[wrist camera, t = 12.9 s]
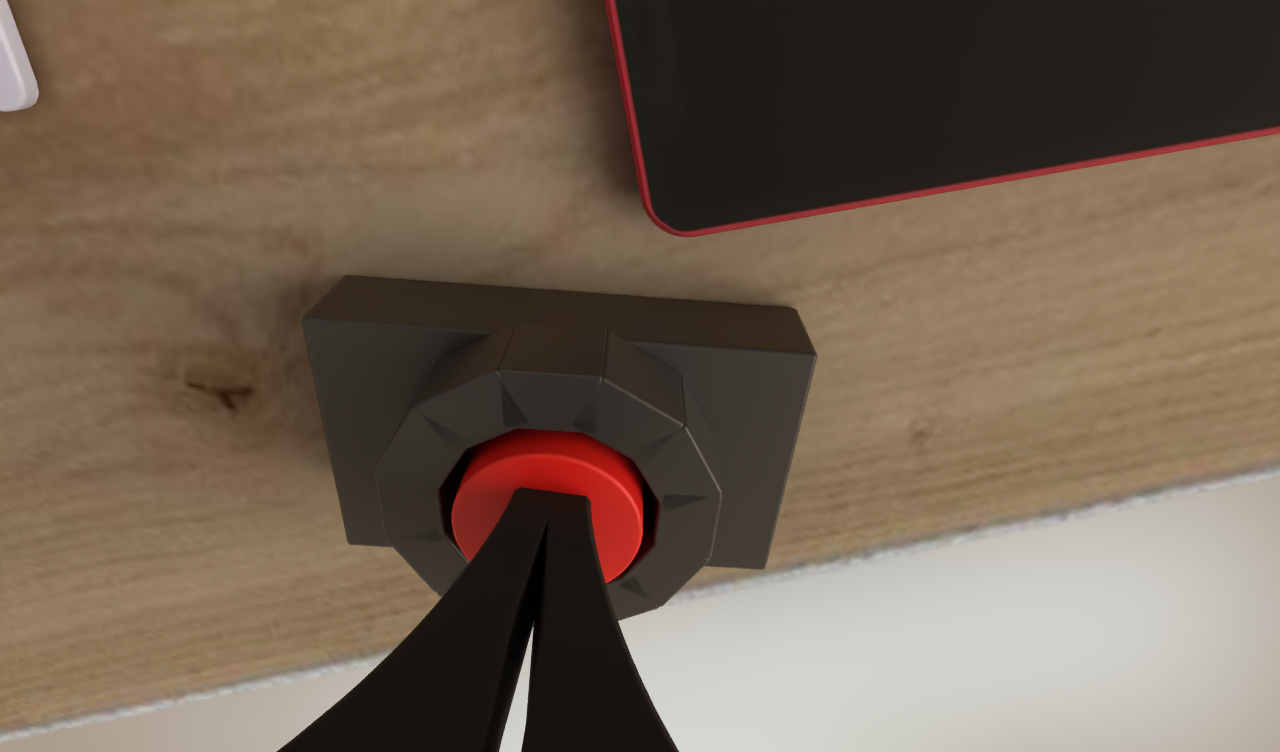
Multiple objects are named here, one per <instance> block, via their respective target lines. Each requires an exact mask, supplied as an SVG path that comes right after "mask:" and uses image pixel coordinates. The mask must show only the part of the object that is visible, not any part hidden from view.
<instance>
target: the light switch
mask: <svg viewBox="0 0 1280 752" xmlns="http://www.w3.org/2000/svg"><path fill="white" fill-rule="evenodd" d="M302 327H303V331H304V336H305V341H306V346H307V350H308V355H309V360H310V365H311V369H312V374H313V379H314V384H315V388H316V393H317V398H318V403H319V407H320V412H321V417H322V422H323V426H324V431H325V436H326V441H327V445H328V450H329V455H330V460H331V464H332V469H333V474H334V479H335V483H336V488H337V493H338V498H339V502H340V507H341V512H342V517H343V521H344V526H345V531H346V536H347V541H348V543H349V544H351V545H364V546H380V547H393V548H394V549H395V550H396V551H397V552H398V553H399V554H400V555H401V556H402V557H403V558H404V560H405V561H406V562H407V563H408V564H409V565H410V566H411V567H412V568H413V569H414V570H415V571H416V573H417V574H418V575H419V576H420V577H421V578H422V579H423V580H424V581H425V582H426V583H427V584H428V585H429V587H430V588H431V589H432V590H433V591H434V592H438V595H439V596H441V597H443V596H444V595H445V593H446V592H447V591H448V590H449V588H450V587H451V586H452V585H453V584H454V582H455V581H456V580H457V579H458V577H459V576H460V575H461V574H462V572H463V571H464V570H465V569H466V567H467V566H468V564H469V563H470V561H469V560H468V559H467V558H466V556H465V555H464V554H463V552H462V551H461V549H460V547H459V545H458V544H457V541H456V539H455V536H454V533H453V527H452V515H451V513H452V507H453V503H454V500H455V497H456V495H457V492H458V489H459V486H460V484H461V481H462V478H463V476H464V473H465V470H466V468H467V465H468V462H469V460H470V457H471V454H472V451H473V449H474V446H475V445H478V444H480V443H483V442H485V441H488V440H490V439H493V438H495V437H497V436H500V435H502V434H505V433H507V432H510V431H512V430H515V429H517V428H520V429H535V430H550V431H565V432H580V433H584V434H586V435H588V436H590V437H592V438H594V439H595V440H597V441H599V442H601V443H603V444H605V445H606V446H608V447H610V448H612V449H614V450H616V451H617V452H619V453H621V454H623V455H625V456H627V457H628V458H630V459H632V460H633V461H634V462H635V464H636V466H637V467H638V469H639V471H640V472H641V474H642V476H643V536H642V541H641V544H640V547H639V550H638V552H637V554H636V555H635V557H634V559H633V560H632V562H631V563H630V564H629V566H628V567H627V568H626V569H625V570H624V571H623V572H622V573H621V574H620V575H618V576H617V577H616V578H614V579H613V580H611V581H610V582H608V583H606V586H607V589H608V593H609V596H610V599H611V602H612V605H613V609H614V612H615V614H616V617H617V620H618V621H619V620H622V619H626V618H629V617H632V616H635V615H638V614H642V613H645V612H648V611H651V610H654V609H657V608H659V606H663V605H664V604H665V603H666V602H667V601H668V600H669V599H670V598H671V597H672V596H673V595H674V594H675V593H677V592H678V591H679V590H680V589H681V588H682V587H683V586H684V585H685V584H686V583H687V582H688V581H689V580H690V579H691V578H692V577H693V576H694V575H695V574H696V573H697V572H698V571H699V570H700V569H702V568H703V567H704V566H709V567H725V568H742V569H758V570H763V569H765V567H766V564H767V560H768V556H769V552H770V547H771V543H772V539H773V535H774V531H775V527H776V523H777V519H778V515H779V511H780V507H781V503H782V499H783V494H784V490H785V486H786V482H787V478H788V474H789V470H790V466H791V462H792V458H793V454H794V450H795V446H796V442H797V437H798V433H799V429H800V425H801V421H802V417H803V413H804V409H805V405H806V401H807V397H808V393H809V389H810V384H811V380H812V376H813V372H814V368H815V364H816V360H817V353H816V351H815V349H814V347H813V345H812V342H811V340H810V338H809V336H808V334H807V332H806V329H805V327H804V325H803V323H802V321H801V318H800V316H799V314H798V312H797V310H796V309H794V308H782V307H768V306H755V305H741V304H727V303H714V302H700V301H686V300H673V299H659V298H645V297H632V296H618V295H604V294H591V293H577V292H563V291H550V290H536V289H522V288H509V287H495V286H481V285H468V284H454V283H440V282H427V281H413V280H399V279H386V278H372V277H358V276H345V277H343V278H342V279H341V280H340V281H339V282H338V283H337V284H336V285H335V286H334V287H333V288H332V289H331V290H330V291H329V292H328V293H327V294H326V295H325V296H324V297H323V298H322V299H321V300H319V301H318V302H317V303H316V304H315V305H314V306H313V307H312V308H311V309H310V310H309V311H308V312H307V313H306V314H305V315H304V316H303V317H302ZM533 627H534V623H533Z"/></svg>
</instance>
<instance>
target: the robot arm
mask: <svg viewBox="0 0 1280 752" xmlns="http://www.w3.org/2000/svg"><path fill="white" fill-rule="evenodd" d="M38 95H39V91H38V85H37V81H36V78H35V76H34V73H33V70H32V67H31V65H30V62H29V59H28V56H27V54H26V51H25V48H24V45H23V43H22V40H21V37H20V34H19V32H18V29H17V26H16V23H15V21H14V18H13V15H12V12H11V10H10V7H9V4H8V1H7V0H0V111H5V112H9V111H16V110H21V109H26V108H30V107H31V106H33V105H34V104H35V103H36V102H37V99H38ZM533 623H534V629H533V642H532V655H531V667H530V668H531V669H530V680H529V694H528V705H527V718H526V727H525V733H524V739H523V744H522V751H521V752H679V751H678V749H677V747H676V746H675V744H674V742H673V740H672V738H671V737H670V735H669V733H668V731H667V729H666V727H665V726H664V724H663V722H662V720H661V718H660V716H659V715H658V713H657V711H656V709H655V707H654V705H653V703H652V701H651V699H650V696H649V694H648V692H647V690H646V688H645V686H644V684H643V682H642V680H641V677H640V676H639V673H638V671H637V668H636V666H635V664H634V662H633V659H632V657H631V655H630V652H629V649H628V647H627V644H626V642H625V639H624V637H623V634H622V631H621V628H620V626H619V623H618V620H617V617H616V614H615V612H614V609H613V605H612V602H611V599H610V596H609V593H608V589H607V586H606V582H605V578H604V575H603V571H602V568H601V564H600V560H599V556H598V551H597V546H596V541H595V536H594V530H593V522H592V512H591V501H590V500H589V499H588V497H587V496H582V495H574V494H567V493H560V492H552V491H545V490H538V489H531V488H524V487H520V488H519V489H517V490H515V491H514V493H513V495H512V497H511V499H510V501H509V503H508V505H507V507H506V509H505V511H504V512H503V514H502V516H501V518H500V519H499V521H498V522H497V524H496V526H495V527H494V529H493V530H492V532H491V533H490V535H489V536H488V538H487V539H486V541H485V542H484V544H483V545H482V546H481V548H480V549H479V551H478V552H477V553H476V555H475V556H474V558H473V559H472V560H471V562H470V563H469V564H468V566H467V567H466V569H465V570H464V571H463V572H462V574H461V575H460V576H459V577H458V579H457V580H456V581H455V582H454V584H453V585H452V586H451V587H450V588H449V590H448V591H447V592H446V593H445V595H444V596H443V597H442V598H441V599H440V601H439V602H438V603H437V604H436V605H435V607H434V608H433V609H432V610H431V611H430V612H429V613H428V615H427V616H426V617H425V618H424V619H423V620H422V621H421V622H420V623H419V624H418V626H417V627H416V628H415V629H414V630H413V631H412V632H411V633H410V634H409V635H408V636H407V637H406V638H405V639H404V640H403V641H402V642H401V643H400V644H399V645H398V647H397V648H396V649H395V650H394V651H393V652H392V653H390V654H389V655H388V656H387V657H386V658H385V659H384V660H383V661H382V662H381V663H380V664H379V665H378V666H377V667H376V668H375V669H374V670H373V671H372V672H371V673H370V674H368V676H366V677H365V679H363V680H362V681H361V682H360V683H359V684H358V685H357V686H356V687H355V688H353V689H352V690H351V691H350V692H349V693H348V694H347V695H345V696H344V697H343V698H342V699H341V700H340V701H338V702H337V703H336V704H335V705H334V706H332V707H331V708H330V709H329V710H328V711H326V712H325V713H324V714H323V715H322V716H320V717H319V718H318V719H317V720H315V721H314V722H313V723H312V724H311V725H309V726H308V727H307V728H306V729H305V730H303V731H302V732H301V733H300V734H299V735H297V736H296V737H295V738H294V739H292V740H291V741H290V742H289V743H287V744H286V745H285V746H284V747H282V748H281V749H280V750H278V751H277V752H499V749H500V744H501V741H502V736H503V732H504V729H505V725H506V722H507V718H508V715H509V711H510V707H511V703H512V700H513V696H514V693H515V689H516V685H517V682H518V678H519V674H520V671H521V667H522V663H523V659H524V656H525V652H526V648H527V645H528V641H529V638H530V634H531V630H532V627H533Z"/></svg>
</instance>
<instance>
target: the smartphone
mask: <svg viewBox="0 0 1280 752" xmlns="http://www.w3.org/2000/svg"><path fill="white" fill-rule="evenodd" d="M604 1H605V6H606V12H607V17H608V23H609V28H610V33H611V39H612V44H613V50H614V55H615V60H616V66H617V71H618V77H619V82H620V87H621V93H622V98H623V104H624V109H625V114H626V120H627V125H628V131H629V136H630V142H631V147H632V152H633V158H634V163H635V169H636V174H637V179H638V185H639V190H640V196H641V200H642V204H643V207H644V209H645V211H646V213H647V215H648V217H649V218H650V219H651V220H652V222H653V223H654V224H655V225H657V226H658V227H659V228H660V229H662V230H663V231H665V232H667V233H669V234H672V235H675V236H680V237H696V236H702V235H708V234H713V233H719V232H724V231H730V230H736V229H741V228H747V227H753V226H758V225H764V224H770V223H775V222H781V221H787V220H792V219H798V218H804V217H809V216H815V215H821V214H826V213H832V212H838V211H843V210H849V209H854V208H860V207H866V206H871V205H877V204H883V203H888V202H894V201H900V200H905V199H911V198H917V197H922V196H928V195H934V194H939V193H945V192H951V191H956V190H962V189H967V188H973V187H979V186H984V185H990V184H996V183H1001V182H1007V181H1013V180H1018V179H1024V178H1030V177H1035V176H1041V175H1047V174H1052V173H1058V172H1064V171H1069V170H1075V169H1081V168H1086V167H1092V166H1097V165H1103V164H1109V163H1114V162H1120V161H1126V160H1131V159H1137V158H1143V157H1148V156H1154V155H1160V154H1165V153H1171V152H1177V151H1182V150H1188V149H1194V148H1199V147H1205V146H1210V145H1216V144H1222V143H1227V142H1233V141H1239V140H1244V139H1250V138H1256V137H1261V136H1267V135H1273V134H1278V133H1280V0H604Z"/></svg>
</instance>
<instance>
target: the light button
mask: <svg viewBox="0 0 1280 752" xmlns="http://www.w3.org/2000/svg"><path fill="white" fill-rule="evenodd" d="M520 487H524V488H531V489H538V490H545V491H552V492H560V493H567V494H574V495H582V496H587V497H588V499H589V500H590V501H591V512H592V522H593V530H594V536H595V541H596V546H597V551H598V556H599V560H600V564H601V568H602V571H603V575H604V578H605V582H606V583H608V582H610V581H611V580H613V579H614V578H616V577H617V576H618V575H620V574H621V573H622V572H623V571H624V570H625V569H626V568H627V567H628V566H629V564H630V563H631V562H632V560H633V559H634V557H635V555H636V554H637V552H638V550H639V547H640V544H641V541H642V536H643V476H642V474H641V472H640V471H639V469H638V467H637V466H636V464H635V462H634V461H633V460H632V459H630V458H628V457H627V456H625V455H623V454H621V453H619V452H617V451H616V450H614V449H612V448H610V447H608V446H606V445H605V444H603V443H601V442H599V441H597V440H595V439H594V438H592V437H590V436H588V435H586V434H584V433H580V432H565V431H550V430H535V429H520V428H517V429H515V430H512V431H510V432H507V433H505V434H502V435H500V436H497V437H495V438H493V439H490V440H488V441H485V442H483V443H480V444H478V445H475V446H474V449H473V451H472V454H471V457H470V460H469V462H468V465H467V468H466V470H465V473H464V476H463V478H462V481H461V484H460V486H459V489H458V492H457V495H456V497H455V500H454V503H453V507H452V513H451V515H452V527H453V533H454V536H455V539H456V541H457V544H458V545H459V547H460V549H461V551H462V552H463V554H464V555H465V556H466V558H467V559H468V560H469V561H470V562H471V560H472V559H473V558H474V556H475V555H476V553H477V552H478V551H479V549H480V548H481V546H482V545H483V544H484V542H485V541H486V539H487V538H488V536H489V535H490V533H491V532H492V530H493V529H494V527H495V526H496V524H497V522H498V521H499V519H500V518H501V516H502V514H503V512H504V511H505V509H506V507H507V505H508V503H509V501H510V499H511V497H512V495H513V493H514V491H515V490H517V489H519V488H520Z"/></svg>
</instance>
